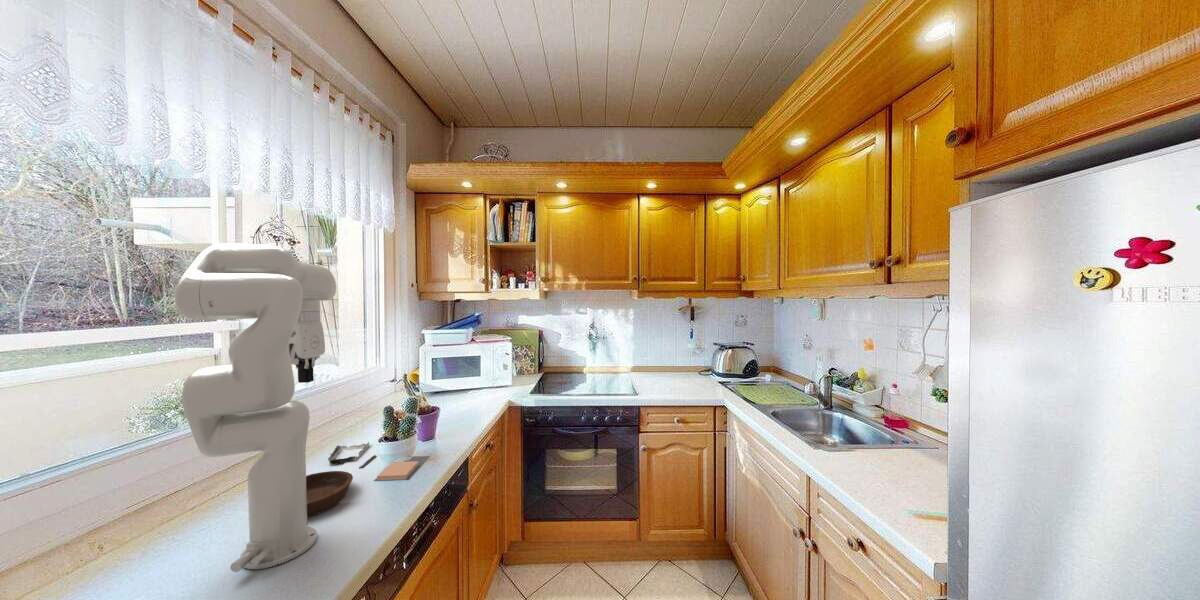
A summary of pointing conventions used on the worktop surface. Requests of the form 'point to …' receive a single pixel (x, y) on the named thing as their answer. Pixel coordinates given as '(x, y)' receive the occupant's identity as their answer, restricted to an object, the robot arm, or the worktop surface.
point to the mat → (421, 462)
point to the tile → (398, 470)
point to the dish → (326, 490)
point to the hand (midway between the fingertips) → (305, 381)
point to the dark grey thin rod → (368, 461)
